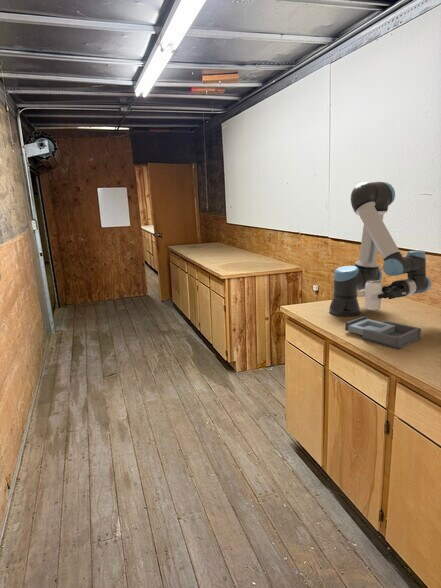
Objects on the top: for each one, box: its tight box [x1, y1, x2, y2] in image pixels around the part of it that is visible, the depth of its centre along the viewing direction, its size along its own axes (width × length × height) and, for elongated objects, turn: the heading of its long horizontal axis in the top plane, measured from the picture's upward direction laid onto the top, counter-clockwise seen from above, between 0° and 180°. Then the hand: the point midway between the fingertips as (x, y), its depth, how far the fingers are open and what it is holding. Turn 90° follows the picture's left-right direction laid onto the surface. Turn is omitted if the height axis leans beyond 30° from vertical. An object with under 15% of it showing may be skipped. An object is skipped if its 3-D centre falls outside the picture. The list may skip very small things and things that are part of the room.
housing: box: [361, 319, 422, 351], centre depth 163 cm, size 16×18×4 cm
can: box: [363, 280, 383, 311], centre depth 166 cm, size 6×6×12 cm
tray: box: [344, 315, 396, 336], centre depth 170 cm, size 15×14×4 cm
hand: (365, 295), depth 163 cm, fingers closed on can, 6 cm apart
